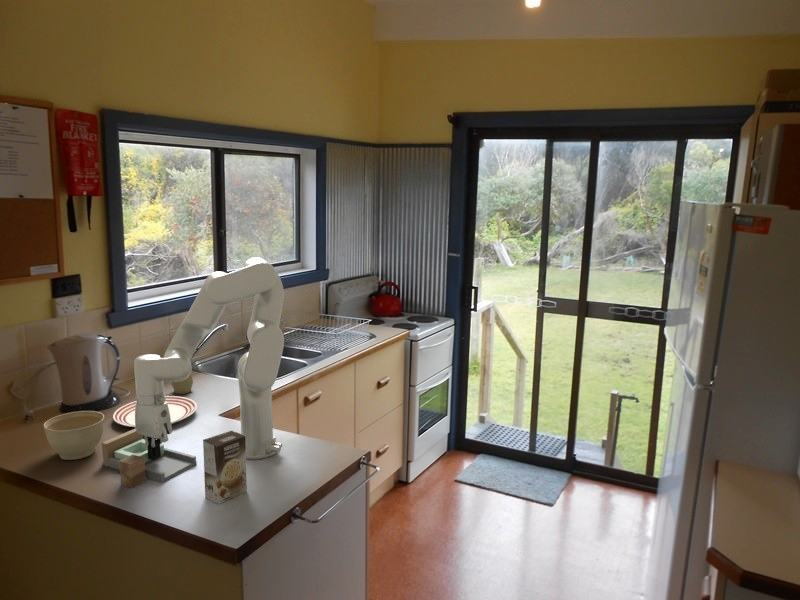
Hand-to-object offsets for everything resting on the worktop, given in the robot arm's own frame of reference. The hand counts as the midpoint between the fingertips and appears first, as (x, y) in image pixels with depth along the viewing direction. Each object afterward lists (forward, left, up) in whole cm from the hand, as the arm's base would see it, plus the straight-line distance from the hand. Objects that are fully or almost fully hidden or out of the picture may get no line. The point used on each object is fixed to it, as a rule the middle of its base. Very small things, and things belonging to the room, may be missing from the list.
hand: (154, 457), depth 179 cm
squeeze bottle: (+41, -51, -3) cm, 66 cm away
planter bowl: (+27, +5, -3) cm, 28 cm away
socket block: (+6, 0, -2) cm, 6 cm away
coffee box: (-30, +3, -3) cm, 30 cm away
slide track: (+2, 0, -3) cm, 4 cm away
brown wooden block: (-3, +10, -3) cm, 11 cm away
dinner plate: (+29, -27, -3) cm, 40 cm away
